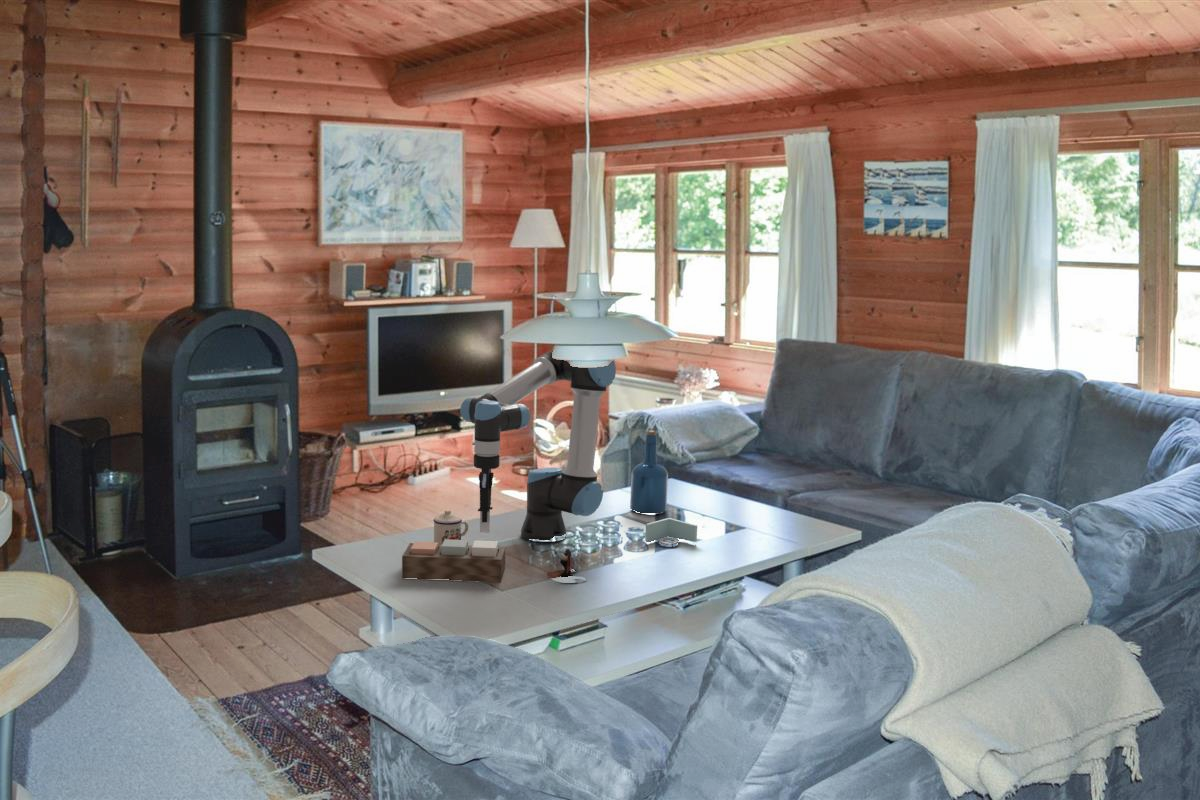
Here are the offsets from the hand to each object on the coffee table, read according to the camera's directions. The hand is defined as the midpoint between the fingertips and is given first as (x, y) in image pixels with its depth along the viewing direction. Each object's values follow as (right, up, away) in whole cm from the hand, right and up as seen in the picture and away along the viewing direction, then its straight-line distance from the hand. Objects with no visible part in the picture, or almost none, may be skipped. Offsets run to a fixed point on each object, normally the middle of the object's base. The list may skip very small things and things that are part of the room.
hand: (484, 531), depth 344 cm
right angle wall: (+57, -10, +40) cm, 70 cm away
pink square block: (-18, -9, +2) cm, 20 cm away
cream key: (0, -9, +2) cm, 9 cm away
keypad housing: (-9, -13, +3) cm, 16 cm away
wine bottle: (+52, -2, +80) cm, 95 cm away
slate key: (-9, -8, +2) cm, 13 cm away
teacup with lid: (-14, -8, +31) cm, 35 cm away
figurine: (+25, -14, +5) cm, 29 cm away
